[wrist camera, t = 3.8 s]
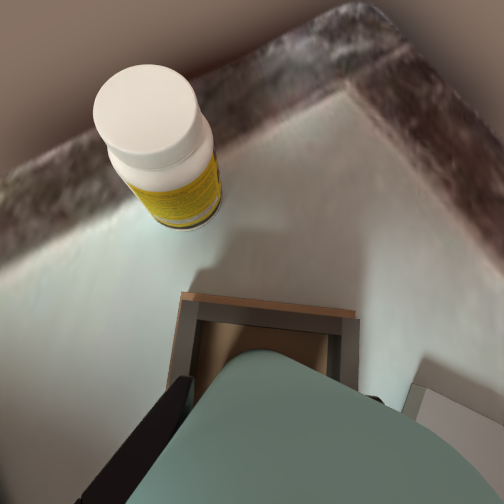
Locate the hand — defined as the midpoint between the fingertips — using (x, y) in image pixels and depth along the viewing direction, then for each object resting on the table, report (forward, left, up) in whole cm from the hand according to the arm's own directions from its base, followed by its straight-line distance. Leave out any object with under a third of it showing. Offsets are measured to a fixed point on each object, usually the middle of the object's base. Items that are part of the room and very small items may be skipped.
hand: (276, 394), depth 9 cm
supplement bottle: (+6, +9, -10) cm, 15 cm away
